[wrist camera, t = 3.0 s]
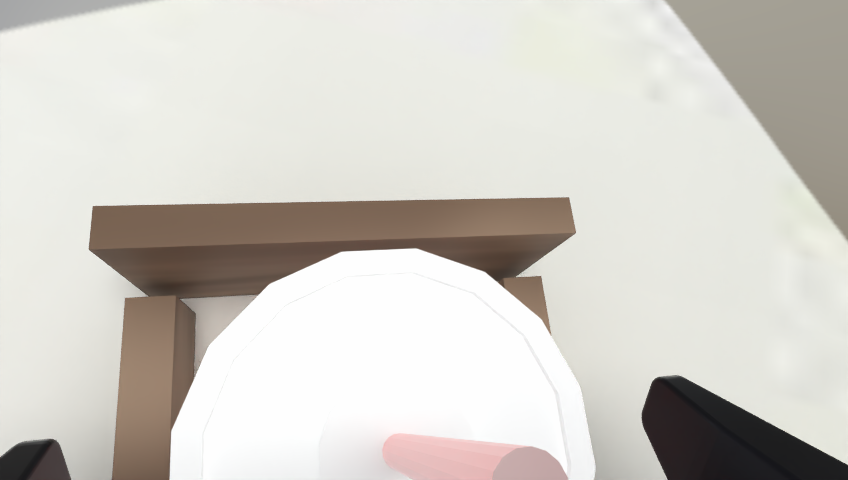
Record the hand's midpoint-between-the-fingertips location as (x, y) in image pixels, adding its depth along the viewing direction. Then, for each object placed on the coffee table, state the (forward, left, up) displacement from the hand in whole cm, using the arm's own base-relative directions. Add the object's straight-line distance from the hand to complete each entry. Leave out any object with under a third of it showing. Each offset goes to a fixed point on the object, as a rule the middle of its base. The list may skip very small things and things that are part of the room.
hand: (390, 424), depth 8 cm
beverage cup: (0, 0, -9) cm, 9 cm away
